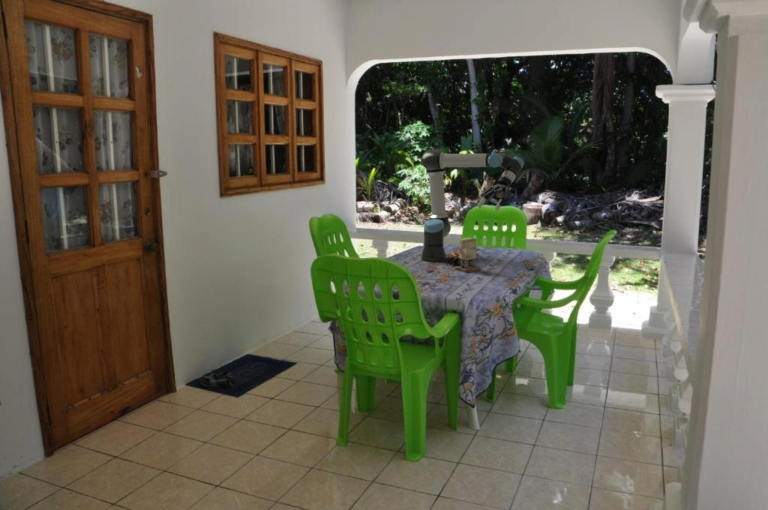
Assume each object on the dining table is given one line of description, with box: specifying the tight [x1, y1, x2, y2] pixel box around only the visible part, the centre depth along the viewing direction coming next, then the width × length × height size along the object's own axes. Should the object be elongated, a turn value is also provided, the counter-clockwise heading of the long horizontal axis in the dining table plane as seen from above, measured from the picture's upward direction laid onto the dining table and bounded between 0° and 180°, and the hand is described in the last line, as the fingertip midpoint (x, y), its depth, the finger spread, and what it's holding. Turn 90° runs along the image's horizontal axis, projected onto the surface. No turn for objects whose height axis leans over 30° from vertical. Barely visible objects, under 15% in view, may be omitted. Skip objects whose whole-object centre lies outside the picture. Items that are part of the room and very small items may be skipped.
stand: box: [454, 258, 481, 274], centre depth 347 cm, size 9×11×6 cm
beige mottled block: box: [458, 237, 477, 261], centre depth 346 cm, size 5×8×11 cm, turn 127°
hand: (487, 208), depth 354 cm, fingers open, 13 cm apart
